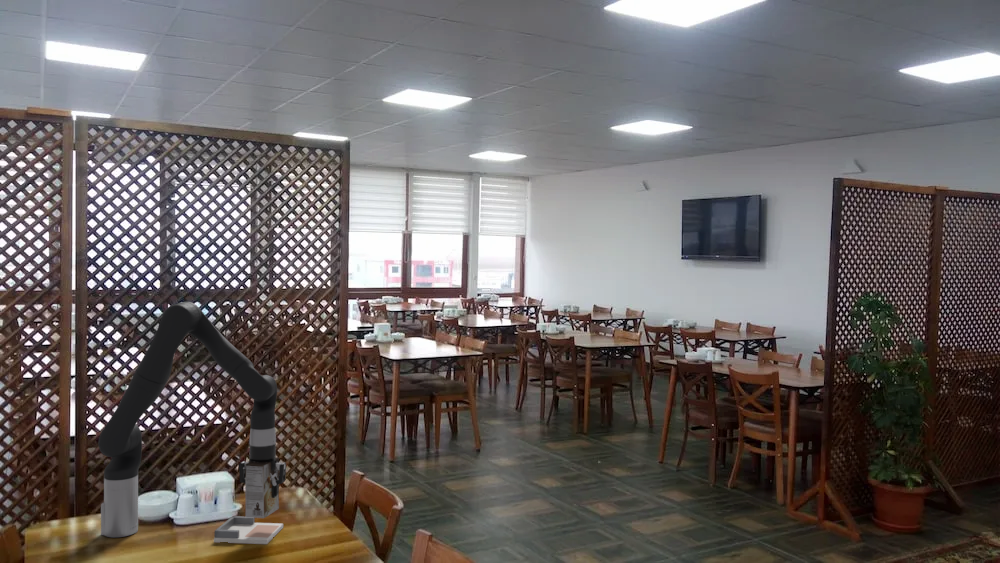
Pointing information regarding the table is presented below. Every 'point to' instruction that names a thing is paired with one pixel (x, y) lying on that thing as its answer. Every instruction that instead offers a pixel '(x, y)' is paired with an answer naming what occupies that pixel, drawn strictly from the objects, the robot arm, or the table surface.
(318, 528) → the table surface
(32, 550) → the table surface
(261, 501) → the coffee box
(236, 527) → the slide dock
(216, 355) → the robot arm
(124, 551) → the table surface
